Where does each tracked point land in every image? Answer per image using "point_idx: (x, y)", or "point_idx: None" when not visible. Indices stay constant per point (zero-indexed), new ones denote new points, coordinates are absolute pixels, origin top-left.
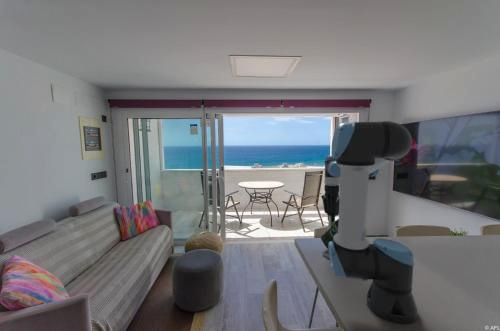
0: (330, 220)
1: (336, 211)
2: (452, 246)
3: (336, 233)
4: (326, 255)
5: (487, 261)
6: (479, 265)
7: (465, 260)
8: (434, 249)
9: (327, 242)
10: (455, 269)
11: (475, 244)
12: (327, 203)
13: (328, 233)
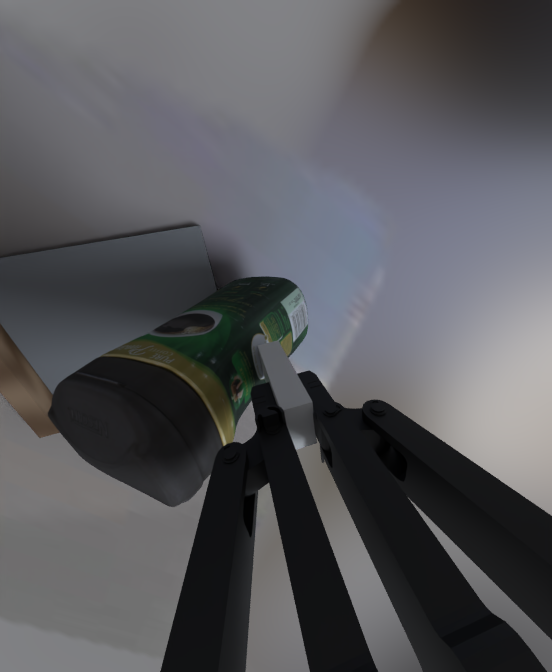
0: (271, 379)
1: (198, 532)
2: (159, 604)
3: (156, 332)
4: (180, 235)
5: (64, 625)
6: (42, 608)
7: (75, 598)
8: (152, 572)
9: (234, 286)
10: (19, 565)
11: (157, 635)
12: (463, 588)
13: (235, 305)
